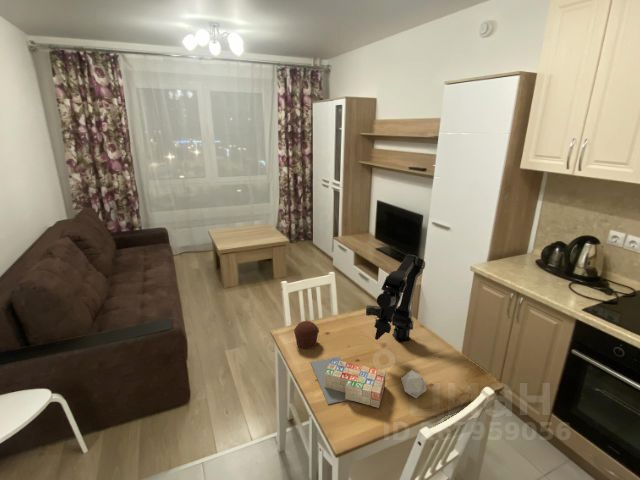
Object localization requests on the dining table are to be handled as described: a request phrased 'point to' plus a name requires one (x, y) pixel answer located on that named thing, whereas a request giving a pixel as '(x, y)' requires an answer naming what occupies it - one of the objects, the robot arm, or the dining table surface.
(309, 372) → the dining table surface
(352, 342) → the dining table surface
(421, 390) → the die
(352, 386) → the stack of blocks
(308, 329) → the muffin
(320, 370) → the mat
